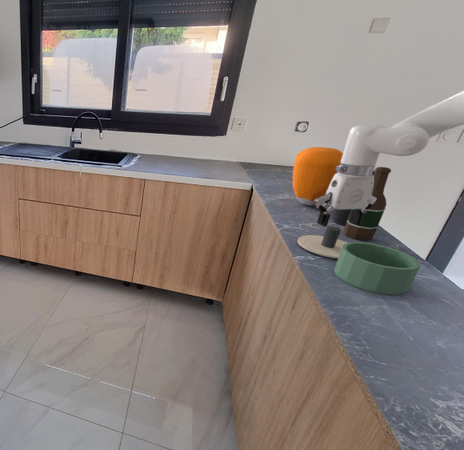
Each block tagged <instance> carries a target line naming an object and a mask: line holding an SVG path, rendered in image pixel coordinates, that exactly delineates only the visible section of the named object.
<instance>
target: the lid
mask: <svg viewBox="0 0 464 450" xmlns="http://www.w3.org/2000/svg"><path fill="white" fill-rule="evenodd" d="M340 233H341V228H339V227H336V226H331V225H327V226H326V227H325V231H324V234H323V235H317V234H315V235H314V234H308V235H302V236H299V237H298V239H297V244H298V245H299V246H300V247H301V248H302V249H304V250H306V251H308V252H311V253H313V254H316V255H318V256H322V257H327V258H331V259H337V260H338V258H339V255H340V253H341V250H342V247H343V245H344V244H347V243H348V242H346V241H344V240H341V239H339V237H340Z"/></svg>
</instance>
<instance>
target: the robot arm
mask: <svg viewBox="0 0 464 450" xmlns="http://www.w3.org/2000/svg"><path fill="white" fill-rule="evenodd" d="M463 125H464V90H462V91H459V92H457V93H456V94H454V95H452V96H450V97H448V98H446V99H444V100H442V101H439V102H437V103H435V104H433V105H431V106H428V107H427V108H424V109H423V110H421V111H418V112H417V113H415V114H413V115H411V116H409V117H407V118H405V119H403V120H401V121H400V122H398V123H396V124H394V125H393V126H390V127H386V126H384V125H379V124H358V125H354V126H352V127H351V128H350V130H349V132H348V136H347V138H346V143H345V146H344V149H343V152H342V153H343V155H342V159H341V162H340V165H339V167H336V171H338V172H337V173H336V174H335V175H334V177H333V179H332V181H331V183H330V185H329V187H328V190H327V192H326V195H324V196H321V197H319V198H317V199H315V208H316V209H317V211H318V212H319V215H318V218H317V221H316V223H317V224H318V225H320V226H321V227H325V228H327V227H328V224H329V221H330V218H331V215H330V213H331V212H332V211H334V210H336V209H338V210H343V209H355V210H352V212H351V215H350V218H349V223H352V224H354V225H356V226H358V225H359V224H360V221H361V219H362V216H363V213H366V212H367V210H368V209H369V208H370V207H371V206H372V204H373V203H374V202H375V201H376V200H377V198H375V197H373V196H372V191H373V186H374V175H372V173H373V171H375V169H376V165H377V162H378V159H379V157H380V156H379V155H380V154H383V155H390V156H396V157H407V156H413V155H416V154H418V153H420V152H422V151H423V150H424V149H425V148H426V147H427V146H428V144H429V142H430V139H431V138H433V137H435V136H438V135H440V134H442V133H444V132H446V131H449V130H452V129H454V128H457V127H460V126H463Z"/></svg>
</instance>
